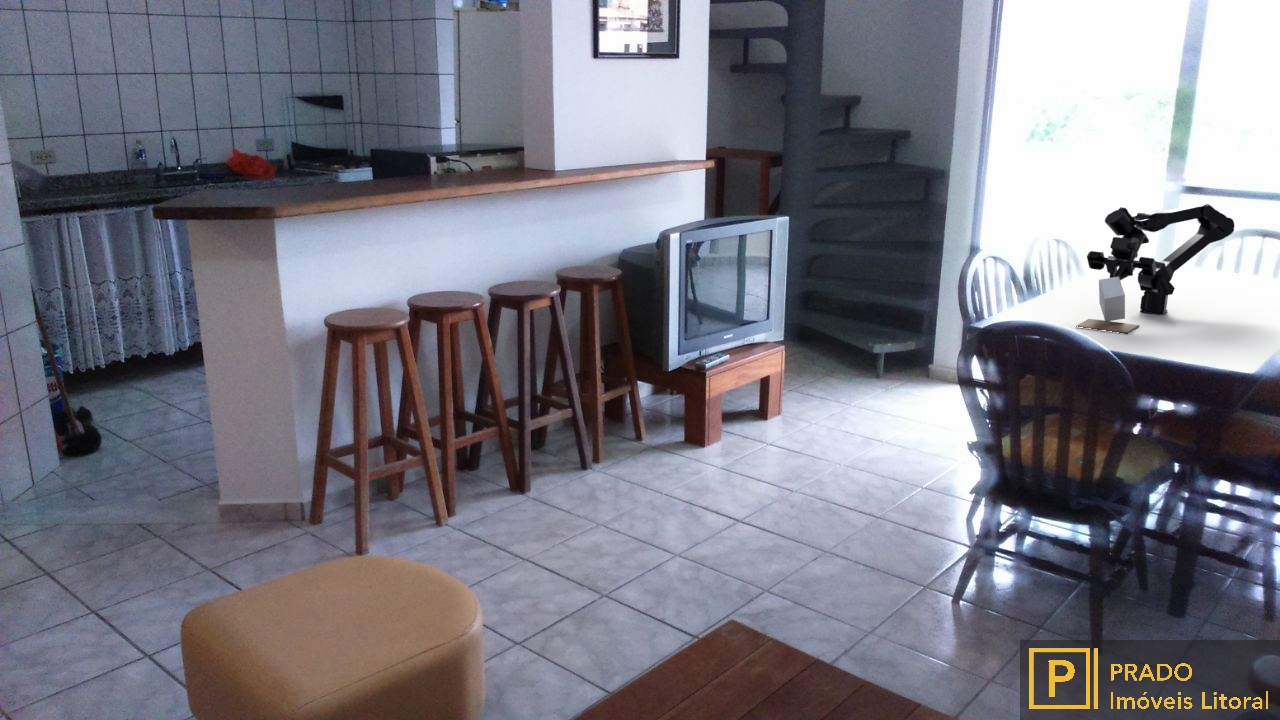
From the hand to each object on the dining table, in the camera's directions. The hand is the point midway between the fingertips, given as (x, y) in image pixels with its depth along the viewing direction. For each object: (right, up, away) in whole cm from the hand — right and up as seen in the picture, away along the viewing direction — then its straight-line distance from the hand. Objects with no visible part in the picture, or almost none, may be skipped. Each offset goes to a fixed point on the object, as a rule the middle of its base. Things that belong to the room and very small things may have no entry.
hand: (1111, 284), depth 294 cm
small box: (+2, -8, +3) cm, 8 cm away
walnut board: (-4, -13, -5) cm, 14 cm away
